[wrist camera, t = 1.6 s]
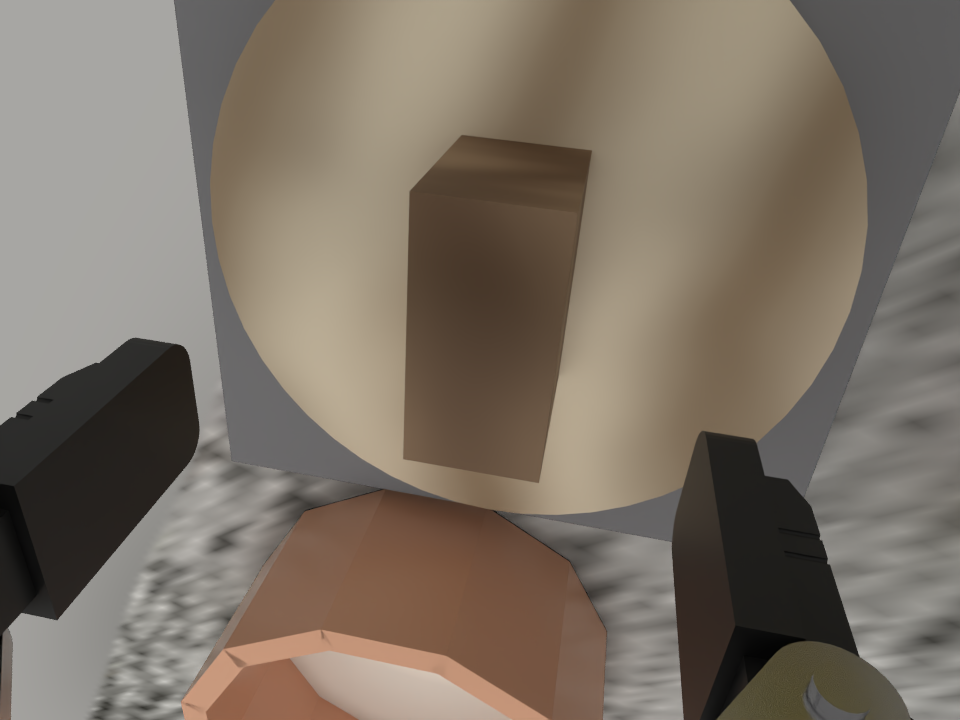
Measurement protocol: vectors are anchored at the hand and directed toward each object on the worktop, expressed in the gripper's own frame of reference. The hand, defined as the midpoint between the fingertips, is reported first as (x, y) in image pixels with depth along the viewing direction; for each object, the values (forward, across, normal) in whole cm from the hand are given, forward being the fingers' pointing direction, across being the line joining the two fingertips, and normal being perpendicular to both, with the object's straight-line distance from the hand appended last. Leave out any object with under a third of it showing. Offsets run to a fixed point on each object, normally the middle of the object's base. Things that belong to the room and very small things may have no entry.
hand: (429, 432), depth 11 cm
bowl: (+10, +2, +16) cm, 19 cm away
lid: (+9, 0, 0) cm, 9 cm away
